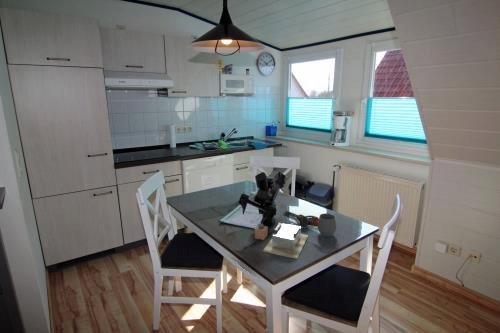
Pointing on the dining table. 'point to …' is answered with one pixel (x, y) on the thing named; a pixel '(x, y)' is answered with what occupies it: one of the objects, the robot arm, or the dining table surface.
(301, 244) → the mounting board
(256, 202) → the robot arm
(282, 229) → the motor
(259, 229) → the brown block with knob
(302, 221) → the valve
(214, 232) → the dining table surface
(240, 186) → the dining table surface
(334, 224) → the cup
